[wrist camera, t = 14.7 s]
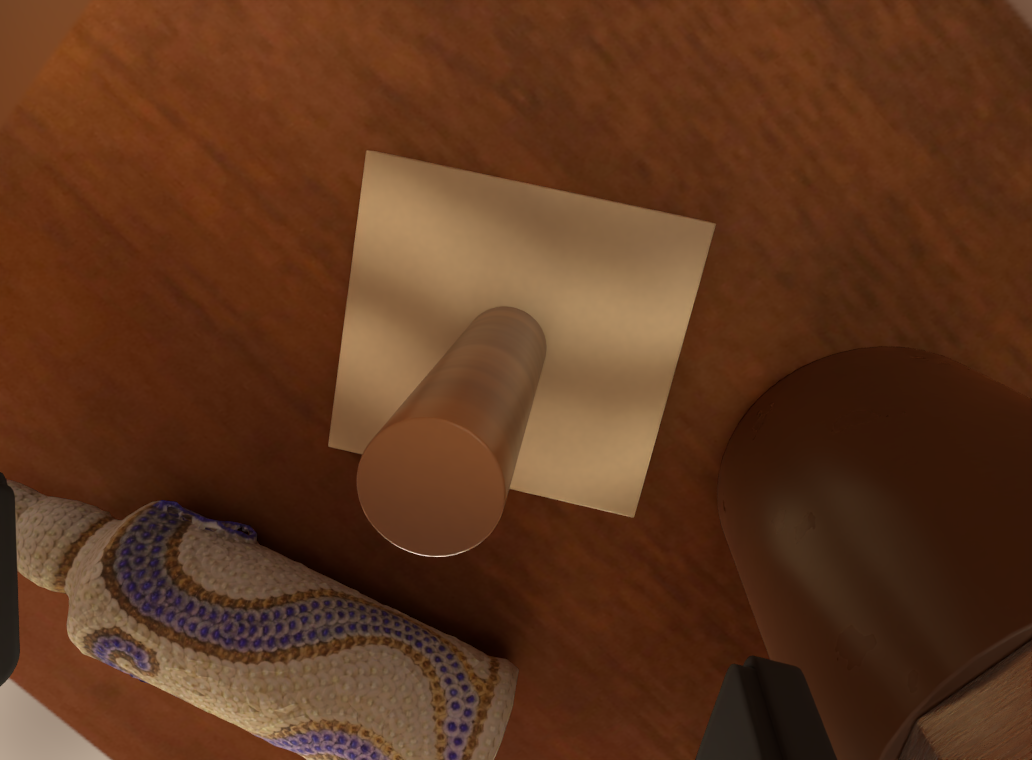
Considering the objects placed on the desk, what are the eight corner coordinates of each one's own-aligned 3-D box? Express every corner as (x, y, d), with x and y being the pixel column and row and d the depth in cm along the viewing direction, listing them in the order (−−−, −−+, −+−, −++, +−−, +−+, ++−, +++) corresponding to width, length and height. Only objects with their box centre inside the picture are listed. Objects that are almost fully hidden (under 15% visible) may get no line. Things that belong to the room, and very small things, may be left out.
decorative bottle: (538, 632, 32) (523, 747, 25) (469, 746, 34) (440, 879, 28) (20, 380, 31) (-128, 433, 25) (-14, 514, 33) (-158, 595, 27)
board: (375, 150, 27) (365, 149, 25) (711, 221, 26) (716, 223, 25) (337, 437, 30) (327, 446, 29) (632, 505, 30) (633, 518, 28)
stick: (472, 298, 27) (366, 402, 14) (554, 316, 26) (519, 437, 14) (458, 376, 28) (346, 539, 15) (537, 394, 27) (490, 573, 15)
